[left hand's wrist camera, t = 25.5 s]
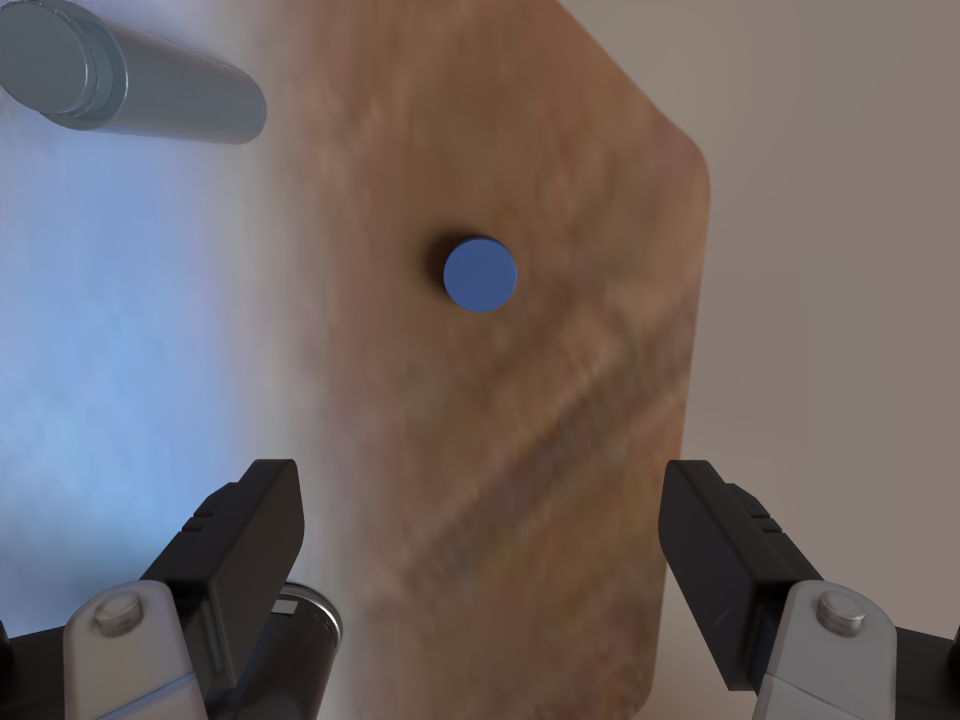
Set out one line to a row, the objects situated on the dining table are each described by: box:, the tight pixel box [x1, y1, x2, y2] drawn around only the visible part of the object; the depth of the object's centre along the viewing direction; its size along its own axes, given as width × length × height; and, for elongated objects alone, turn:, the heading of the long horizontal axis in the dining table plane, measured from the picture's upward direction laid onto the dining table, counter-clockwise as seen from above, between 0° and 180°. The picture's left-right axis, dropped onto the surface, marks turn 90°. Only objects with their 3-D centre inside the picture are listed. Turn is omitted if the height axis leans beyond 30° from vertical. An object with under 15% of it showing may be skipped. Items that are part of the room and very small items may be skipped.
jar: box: [0, 0, 266, 145], centre depth 25 cm, size 4×4×15 cm
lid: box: [443, 236, 517, 312], centre depth 35 cm, size 5×5×2 cm
